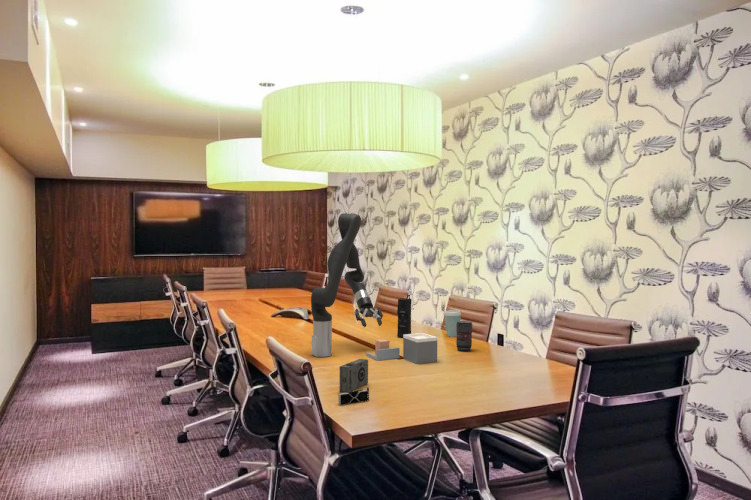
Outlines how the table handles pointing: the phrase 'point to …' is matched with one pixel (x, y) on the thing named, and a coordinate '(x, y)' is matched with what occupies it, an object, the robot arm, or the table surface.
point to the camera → (353, 375)
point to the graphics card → (354, 396)
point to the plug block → (381, 344)
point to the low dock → (385, 354)
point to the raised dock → (420, 348)
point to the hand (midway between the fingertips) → (373, 325)
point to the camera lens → (464, 336)
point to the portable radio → (404, 316)
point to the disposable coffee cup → (451, 321)
